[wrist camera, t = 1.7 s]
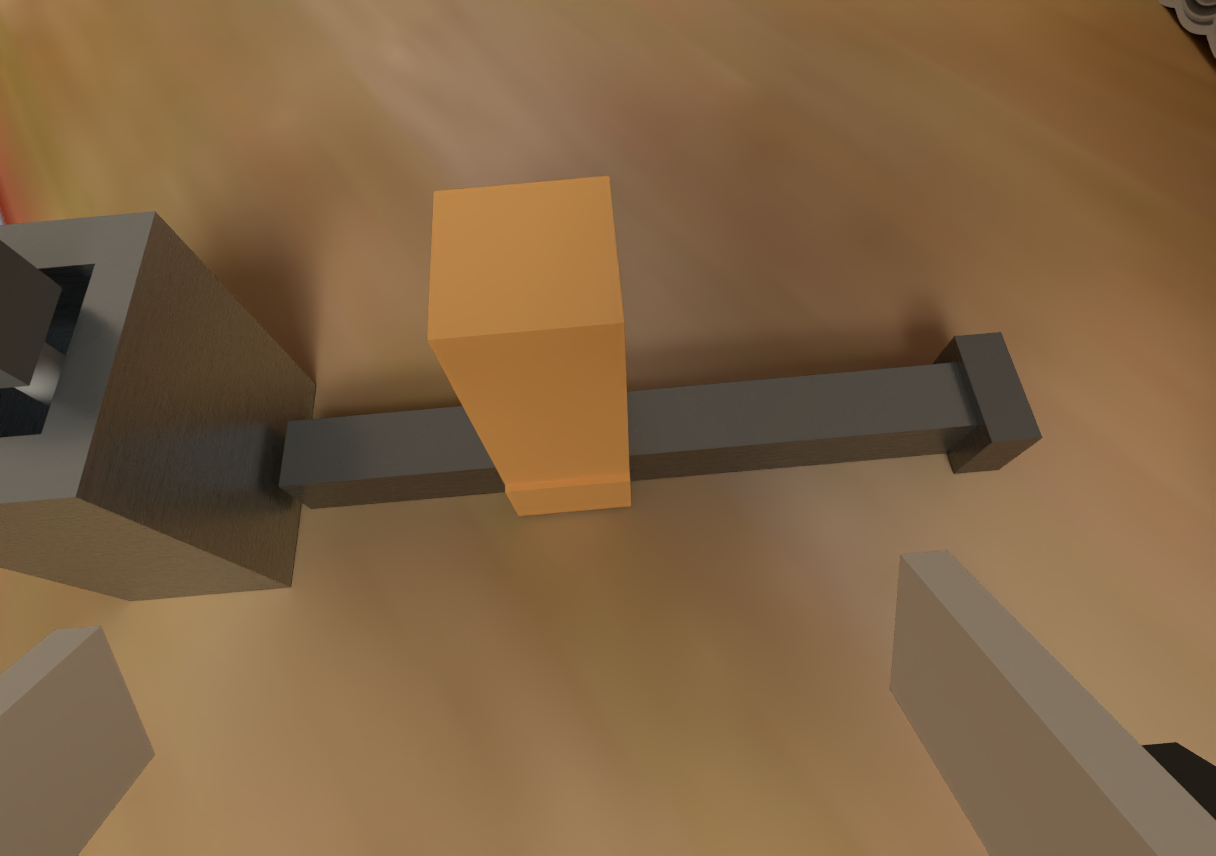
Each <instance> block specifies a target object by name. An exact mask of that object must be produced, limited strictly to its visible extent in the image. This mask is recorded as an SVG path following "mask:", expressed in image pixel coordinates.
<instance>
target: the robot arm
mask: <svg viewBox="0 0 1216 856" xmlns="http://www.w3.org/2000/svg"><path fill="white" fill-rule="evenodd" d="M890 690H891V692H892V694H893V695H894V697H895V699H896V700H897V702H898V704H899V705H900V707H901V709H902V710H903V712H904V714H905V715H906V717H907V719H908V720H909V722H910V724H911V725H912V727H913V729H914V730H915V732H916V733H917V735H918V737H919V738H920V740H921V742H922V743H923V745H924V747H925V748H926V750H927V752H928V753H929V755H930V757H931V758H932V760H933V762H934V763H935V765H936V767H937V768H938V770H939V772H940V773H941V775H942V777H943V778H944V780H945V782H946V783H947V785H948V787H949V788H950V790H951V792H952V793H953V795H954V797H955V798H956V800H957V802H958V803H959V805H960V807H961V808H962V810H963V812H964V813H965V815H966V816H967V818H968V820H969V821H970V823H971V825H972V826H973V828H974V830H975V831H976V833H977V835H978V836H979V838H980V840H981V841H982V843H983V845H984V846H985V848H986V850H987V851H988V853H989V855H990V856H1216V766H1214V765H1213V764H1211V763H1209V762H1208V761H1206V760H1204V759H1203V758H1201V757H1199V756H1198V755H1196V754H1194V753H1193V752H1191V751H1190V750H1188V749H1186V748H1185V747H1183V746H1181V745H1180V744H1178V743H1176V742H1174V743H1163V744H1152V745H1140V744H1139V743H1138V742H1137V741H1136V740H1135V739H1134V738H1133V737H1132V736H1131V735H1130V734H1129V733H1128V732H1127V731H1126V730H1125V729H1124V728H1123V727H1122V726H1121V725H1120V724H1119V723H1118V722H1117V721H1116V720H1115V718H1114V717H1113V716H1112V715H1111V714H1110V713H1109V712H1108V711H1107V710H1106V709H1105V708H1104V707H1103V706H1102V705H1101V704H1100V703H1099V702H1098V701H1097V700H1096V699H1095V698H1094V697H1093V696H1092V695H1091V694H1090V693H1089V692H1088V691H1087V690H1086V689H1085V688H1084V687H1083V686H1082V685H1081V684H1080V683H1079V682H1078V681H1077V680H1076V679H1075V678H1074V677H1073V676H1072V675H1071V674H1070V673H1069V672H1068V671H1067V670H1066V669H1065V668H1064V667H1063V666H1062V665H1061V664H1060V663H1059V662H1058V661H1057V660H1056V659H1055V658H1054V657H1053V656H1052V655H1051V654H1050V653H1049V652H1048V651H1047V650H1046V649H1045V648H1044V647H1043V646H1042V645H1041V644H1040V643H1039V642H1038V641H1037V640H1036V639H1035V638H1034V637H1033V636H1032V635H1031V634H1030V633H1029V632H1028V631H1027V630H1026V629H1025V628H1024V627H1023V626H1022V625H1021V624H1020V623H1019V622H1018V621H1017V620H1016V619H1015V618H1014V617H1013V616H1012V615H1011V614H1010V613H1009V612H1008V611H1007V610H1006V609H1005V608H1004V607H1003V606H1002V605H1001V604H1000V603H999V602H998V601H997V600H996V599H995V598H994V597H993V596H992V595H991V594H990V593H989V592H988V591H987V590H986V589H985V588H984V587H983V586H982V585H981V584H980V583H979V582H978V581H977V580H976V579H975V578H974V577H973V576H972V575H971V574H970V573H969V572H968V571H967V570H966V569H965V568H964V567H963V566H962V565H961V564H960V563H959V562H958V561H957V560H956V559H955V558H954V556H953V555H952V554H951V553H950V552H949V551H948V550H943V551H932V552H921V553H910V554H900V566H899V579H898V592H897V605H896V618H895V631H894V644H893V657H892V670H891V683H890ZM154 755H155V753H154V750H153V748H152V746H151V743H150V741H149V738H148V736H147V734H146V731H145V729H144V727H143V724H142V722H141V719H140V717H139V715H138V712H137V710H136V707H135V705H134V703H133V700H132V698H131V696H130V693H129V691H128V688H127V686H126V684H125V681H124V679H123V676H122V674H121V672H120V669H119V667H118V665H117V662H116V660H115V657H114V655H113V653H112V650H111V648H110V645H109V643H108V641H107V638H106V636H105V634H104V631H103V629H102V626H91V627H80V628H69V629H58V630H54V631H53V632H51V633H50V634H49V635H48V636H47V637H45V638H44V639H43V640H42V641H41V642H39V643H38V644H37V645H36V646H34V647H33V648H32V649H31V650H30V651H28V652H27V653H26V654H25V655H24V656H22V657H21V658H20V659H19V660H17V661H16V662H15V663H14V664H13V665H11V666H10V667H9V668H8V669H7V670H5V671H4V672H3V673H2V674H0V856H78V854H79V853H80V852H81V851H82V849H83V848H84V847H85V845H86V844H87V843H88V841H89V840H90V839H91V838H92V836H93V835H94V834H95V832H96V831H97V830H98V828H99V827H100V826H101V825H102V823H103V822H104V821H105V819H106V818H107V817H108V815H109V814H110V813H111V811H112V810H113V809H114V808H115V806H116V805H117V804H118V802H119V801H120V800H121V798H122V797H123V796H124V795H125V793H126V792H127V791H128V789H129V788H130V787H131V785H132V784H133V783H134V782H135V780H136V779H137V778H138V776H139V775H140V774H141V772H142V771H143V770H144V768H145V767H146V766H147V765H148V763H149V762H150V761H151V759H152V758H153V757H154Z"/></svg>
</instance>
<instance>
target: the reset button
mask: <svg viewBox="0 0 1216 856" xmlns="http://www.w3.org/2000/svg"><path fill="white" fill-rule="evenodd" d="M61 290H62V287H61V286H59V285H58V284H57V283H56V282H54V281H53V280H52V279H50V278H49V277H48V276H46V275H45V274H44V273H43V272H41V271H40V270H39V269H37V268H36V267H35V266H34V265H32V264H31V263H30V262H28V261H27V260H26V259H24V258H23V257H22V256H21V255H19V254H18V253H17V252H15V251H14V250H13V249H12V248H10V247H9V246H8V245H6V244H5V243H4V242H2V241H1V240H0V388H11V387H14V388H16V389H18V390H20V391H21V392H23V393H25V394H27V395H29V396H30V397H32V398H34V399H36V400H38V401H39V402H41V403H43V404H45V405H47V406H48V407H50V405H51V402H52V399H53V396H54V392H55V389H56V386H57V383H58V380H59V377H60V374H61V370H62V367H63V364H64V361H65V358H66V356H65V355H64V354H62V353H61V352H59V351H57V350H56V349H54V348H53V347H51V346H50V345H48V344H47V343H45V342H44V341H45V338H46V335H47V332H48V329H49V326H50V323H51V320H52V317H53V314H54V311H55V308H56V305H57V302H58V299H59V296H60V293H61Z"/></svg>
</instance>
